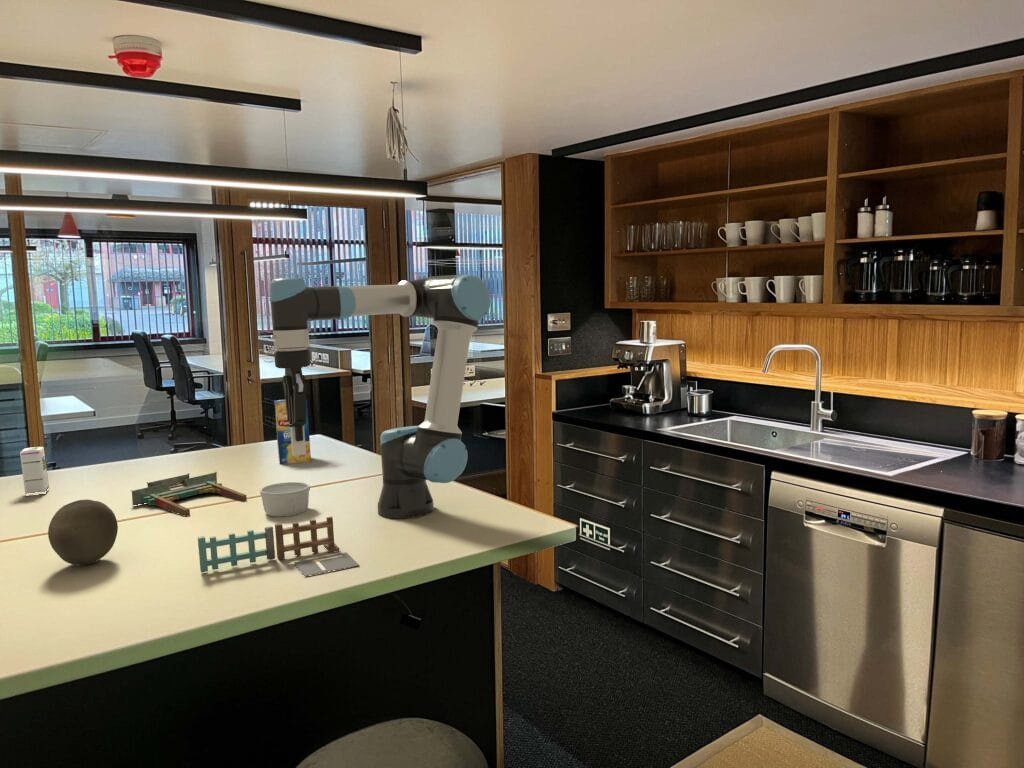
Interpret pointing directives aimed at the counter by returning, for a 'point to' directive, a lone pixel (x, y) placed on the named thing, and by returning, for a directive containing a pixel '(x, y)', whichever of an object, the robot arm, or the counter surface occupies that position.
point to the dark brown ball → (83, 531)
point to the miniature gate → (181, 491)
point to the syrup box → (34, 470)
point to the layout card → (326, 564)
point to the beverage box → (289, 436)
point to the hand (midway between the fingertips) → (299, 454)
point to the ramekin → (285, 498)
